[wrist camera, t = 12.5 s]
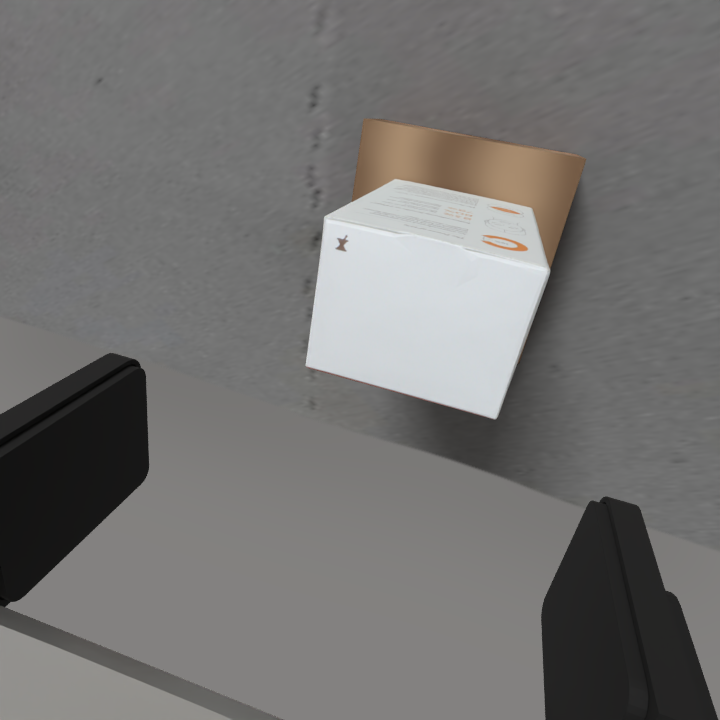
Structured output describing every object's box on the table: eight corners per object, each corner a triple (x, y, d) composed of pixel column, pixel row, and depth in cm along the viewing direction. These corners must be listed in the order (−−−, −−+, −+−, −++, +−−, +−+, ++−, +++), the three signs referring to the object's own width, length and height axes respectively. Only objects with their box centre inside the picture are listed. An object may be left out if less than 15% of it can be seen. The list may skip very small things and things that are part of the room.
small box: (373, 281, 33) (299, 368, 21) (393, 176, 30) (320, 210, 18) (502, 314, 31) (498, 425, 20) (536, 207, 29) (554, 264, 17)
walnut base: (577, 155, 31) (586, 159, 27) (518, 339, 36) (518, 363, 32) (379, 118, 33) (363, 118, 29) (351, 299, 38) (334, 317, 34)
